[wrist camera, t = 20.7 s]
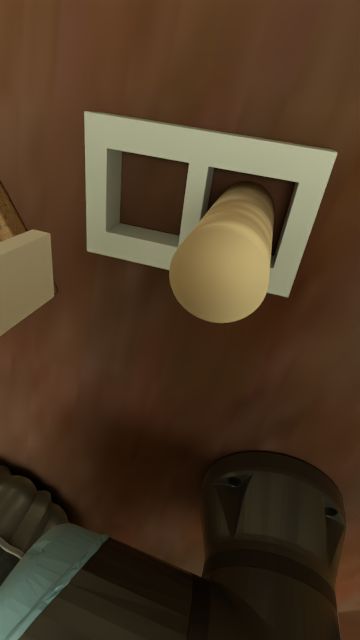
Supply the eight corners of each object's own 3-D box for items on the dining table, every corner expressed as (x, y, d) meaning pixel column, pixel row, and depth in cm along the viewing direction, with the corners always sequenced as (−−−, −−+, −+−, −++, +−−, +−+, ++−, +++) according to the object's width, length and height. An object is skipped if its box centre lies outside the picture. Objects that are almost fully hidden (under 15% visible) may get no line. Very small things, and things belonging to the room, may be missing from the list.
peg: (281, 185, 22) (280, 239, 12) (267, 244, 24) (256, 331, 14) (221, 177, 23) (173, 221, 13) (212, 235, 25) (165, 312, 15)
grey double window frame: (331, 149, 20) (337, 152, 18) (287, 282, 25) (288, 297, 23) (102, 112, 23) (84, 111, 21) (101, 241, 27) (87, 251, 25)
